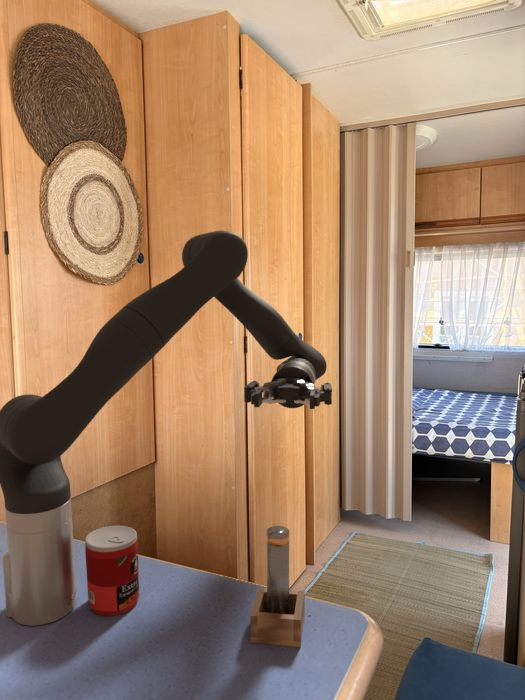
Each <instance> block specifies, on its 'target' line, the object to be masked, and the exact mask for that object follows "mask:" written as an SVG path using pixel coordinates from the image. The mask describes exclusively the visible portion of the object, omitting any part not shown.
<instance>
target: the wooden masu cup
mask: <svg viewBox="0 0 525 700" xmlns="http://www.w3.org/2000/svg"><path fill="white" fill-rule="evenodd" d="M305 592H306V591H305V590H293V589H289V615H288V614H276V613H267V587H257V591H256V595H255V598H254V601H253V604H252V608H251V613H250V615H249V616H250V617H249V619H250V621H249V622H250V624H249V625H250V630H249V631H250V643H253V644H263V645H274V646H283V647H284V646H285V647H294V648H302V642H303V641H302V640H303V632H304V623H305V616H306V615H305V614H306V613H305V612H306V611H305V609H306V608H305V607H306V606H305V602H306V601H305V600H306V599H305Z"/></svg>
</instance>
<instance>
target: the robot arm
mask: <svg viewBox="0 0 525 700" xmlns="http://www.w3.org/2000/svg"><path fill="white" fill-rule="evenodd" d="M248 250H249V249H248V247H247V243H246V242H245V240H244V239H243V237H242V236H240V235H239V234H238V233H235V232H233V231H229V230H215V231H210V232H205V233H201V234H198V235H195V236H193V237H191V238H190V239H188V240H187V241H186V243H185V244H184V246H183V248H182V253H181V260H182V265H183V266H184V267H182V268H181V269H180V270H179V271H178V272H176V273H175V274H174V275H172V276H171V277H169V278H167V279H165V280H163V281H162V282H161V283H158V284H155V286H153V287H151V288H150V289H148V290H146V291H144V292H142V293H141V294H139V295H138V296H136V297H135V298H133V299H131V301H129V302H128V303H126V304H125V305H124V306H123V307H122V308H121V309H119V311H118V312H116V313H115V314H114V315H113V316H112V317H111V318H110V319H108V320H107V322H106V323H105V324H104V325H103V326H102V327H101V328H100V329H99V331H98V332H97V333H96V334H95V337H94V338H93V339H92V341H91V343H90V344H89V347H88V348H87V350H86V352H85V354H84V355H83V356H82V358H81V360H80V362H79V363H78V364H77V365H76V367H75V368H74V369H73V370H72V371H71V372H70V373H69V375H67V376H66V377H65V378H64V379H63V380H62V381H61V382H59V383H58V384H57V385H56V386H55V387H54V388H52V389H51V390H50V391H49V392H48V393H46V394H44V395H43V396H41V395H38V394H32V393H31V394H29V393H27V394H20V395H18V396H16V397H13V398H11V399H10V400H8V401H7V402H6V403H4V405H3V406H2V407H1V409H0V488H1V492H2V494H3V499H4V500H3V501H4V511H5V525H6V526H5V527H6V538H7V539H6V540H7V552H6V553H5V554H4V555H3V557H2V558H1V559H2V573H3V587H4V598H5V599H4V600H5V602H4V603H5V613H6V614H5V615H6V617H7V618H8V617H9V618H12V619H13V620H14V621H15V622H16V623H18V624H19V625H20V624H21V625H24V626H41V625H46V624H50V623H53V622H55V621H58V620H60V619H62V618H64V617H66V616H67V615H69V614H70V612H71V611H73V610H74V608H75V607H76V605H77V588H76V569H75V568H76V566H75V548H74V547H75V545H74V527H73V515H72V514H73V509H72V496H71V495H72V494H71V483H70V480H69V477H68V475H67V472H66V470H65V469H64V465H63V462H62V456H63V454H64V453H65V452H66V451H68V449H70V448H71V446H72V445H73V444H74V443H75V442H76V440H77V439H78V438H79V437H80V436H81V434H82V433H83V432H84V430H85V429H86V428H87V427H88V426H89V424H90V423H91V422H92V421H93V420H94V418H95V417H96V416H97V414H98V413H100V412H101V410H102V408H103V407H104V406H105V405H107V403H108V402H109V401H110V400H112V398H113V397H114V396H115V395H116V394H117V393H118V392H119V391H120V390H121V389H122V388H123V387H125V386H126V384H127V383H128V382H130V381H131V379H132V378H133V377H134V376H136V375H137V373H138V372H139V371H140V370H141V369H142V368H144V367H145V366H146V365H147V364H148V363H149V362H150V361H151V360H152V359H153V358H154V357H155V356H156V355H157V354H158V353H159V352H160V351H161V350H162V349H163V348H164V347H165V346H166V345H167V344H168V343H169V342H170V340H171V339H172V338H173V337H174V336H175V335H177V333H178V332H179V331H180V330H181V329H182V328H183V327H184V326H185V325H186V324H187V323H188V322H189V321H190V320H191V319H192V318H193V317H194V316H195V315H196V314H197V313H198V311H200V310H201V309H202V308H203V307H204V306H205V305H206V304H207V303H208V302H210V300H212V299H213V298H215V300H217V301H218V302H219V303H220V304H221V305H222V306H223V307H224V308H225V309H227V311H229V312H230V313H231V315H233V317H235V318H236V319H237V321H238V322H239V323H241V325H242V326H243V327H244V328H245V329H246V330H247V331H248V332H249V333H250V334H251V336H252V337H253V338H254V339H255V341H256V342H257V343H258V344H259V346H260V347H261V348H262V349H263V350H264V352H265V353H266V354H267V356H269V357H270V358H271V359H273V360H275V361H281V360H283V361H282V362H281V363H279V364H278V365H277V367H276V371H275V374H274V375H273V376H272V379H271V381H267V382H264V383H263V385H260V383H259V381H258V380H257V381H256V380H253V381H250V382H249V383H247V384H245V386H244V389H243V390H244V391H243V392H244V393H243V394H244V395H243V396H244V403H247V404H248V403H250V404H251V405H252V406H253V407H254V408H260V407H261V405H262V404H268V405H272V404H273V405H274V404H279V406H282V407H285V408H286V409H299V408H301V407H303V406H309V410H315V408H316V407H319V406H320V405H321V403H322V402H323V403H324V405H326V406H330V405H332V404H333V398H332V397H333V393H332V392H333V388H332V383H330V382H324V383H322V384H321V385H320V387H316V381H317V380H318V379H320V378H322V377H323V376H324V375H325V374H326V372H327V366H328V365H327V360H326V359H325V357H324V355H323V354H322V353H321V352H320V351H319V350H317V349H316V348H315V347H314V346H312V345H311V344H309V343H308V342H306V341H304V340H303V339H302V338H300V337H299V336H298V335H297V334H296V333H295V331H294V330H292V328H291V327H290V325H289V324H288V322H287V321H286V320H285V318H284V317H283V316H282V315H281V314H280V313H279V312H278V311H277V310H276V309H275V308H274V307H273V306H272V305H270V303H268V302H266V301H265V300H264V299H262V297H259V295H257V294H256V293H254V292H253V291H252V290H251V289H249V288H248V287H247V286H246V285H245V284H244V283H243V282H242V281H241V280H240V279H239V277H240V276H241V274H242V273H243V271H244V270H245V268H246V266H247V262H248V258H249V255H248V253H249V251H248Z"/></svg>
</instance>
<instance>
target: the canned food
mask: <svg viewBox="0 0 525 700" xmlns="http://www.w3.org/2000/svg"><path fill="white" fill-rule="evenodd" d="M84 540H85V541H84V542H85V543H84V549H85V550H84V551H85V564H86V565H85V567H86V582H87V583H86V584H87V585H86V586H87V601H88V605H89V607H90V609H91V610H92V612H94V613H95V614H98V615H101V616H118V615H121V614H125V613H126V612H128V611H130V610H132V609H133V608H134V607H135V606H136V605H137V604H138V601H139V599H140V573H139V545H138V544H139V543H138V542H139V541H138V534H137V531H136V530H135V529H134V528H133V527H129V526H126V525H108V526H103V527H100V528H97V529H94V530H93V531H91V532H89V533H88V534H87V535H86V537H85V539H84Z"/></svg>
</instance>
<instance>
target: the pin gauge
mask: <svg viewBox="0 0 525 700" xmlns="http://www.w3.org/2000/svg"><path fill="white" fill-rule="evenodd" d="M265 535H266V537H265V538H266V588H267V613H276V614H288V615H289V590H290V543H291V542H290V541H291V538H290V537H291V535H290V530H289V528H288V527H286V526H283V525H273V526H270V527H268V528H267V530H266V534H265Z"/></svg>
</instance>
